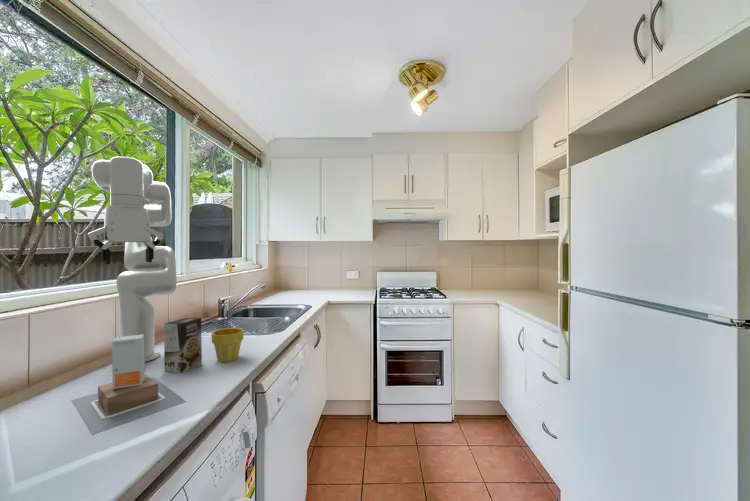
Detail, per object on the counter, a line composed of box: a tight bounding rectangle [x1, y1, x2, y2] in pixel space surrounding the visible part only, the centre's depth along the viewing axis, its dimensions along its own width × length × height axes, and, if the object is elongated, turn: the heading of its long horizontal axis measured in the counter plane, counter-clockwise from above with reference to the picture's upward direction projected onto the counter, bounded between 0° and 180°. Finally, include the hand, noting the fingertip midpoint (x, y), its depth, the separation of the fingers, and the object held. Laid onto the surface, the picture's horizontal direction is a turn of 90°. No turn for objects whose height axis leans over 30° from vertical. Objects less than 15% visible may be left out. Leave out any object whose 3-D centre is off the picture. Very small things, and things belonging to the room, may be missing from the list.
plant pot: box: [211, 327, 244, 363], centre depth 114 cm, size 10×10×10 cm
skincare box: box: [111, 334, 145, 389], centre depth 81 cm, size 6×4×12 cm
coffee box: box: [163, 317, 203, 374], centre depth 104 cm, size 9×6×16 cm
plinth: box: [97, 373, 158, 416], centre depth 81 cm, size 10×10×4 cm
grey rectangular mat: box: [70, 376, 187, 436], centre depth 81 cm, size 24×18×1 cm
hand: (128, 262), depth 92 cm, fingers open, 9 cm apart
